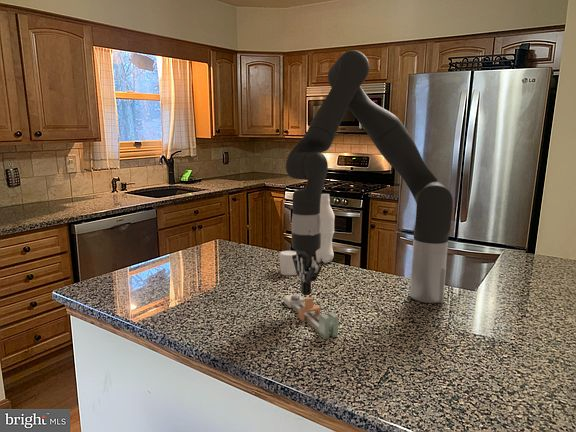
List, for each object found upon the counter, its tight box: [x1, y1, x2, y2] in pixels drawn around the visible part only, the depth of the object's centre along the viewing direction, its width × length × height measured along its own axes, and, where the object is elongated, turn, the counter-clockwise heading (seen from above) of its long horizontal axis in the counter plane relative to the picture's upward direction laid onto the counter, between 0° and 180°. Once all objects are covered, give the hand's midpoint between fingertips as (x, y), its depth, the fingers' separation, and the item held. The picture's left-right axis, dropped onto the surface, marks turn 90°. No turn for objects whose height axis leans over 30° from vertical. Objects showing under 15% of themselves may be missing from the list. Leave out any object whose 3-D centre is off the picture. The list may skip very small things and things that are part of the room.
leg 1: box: [291, 303, 330, 340], centre depth 106 cm, size 19×1×5 cm, turn 23°
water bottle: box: [316, 193, 336, 264], centre depth 155 cm, size 7×7×25 cm
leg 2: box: [299, 302, 339, 338], centre depth 107 cm, size 19×1×5 cm, turn 22°
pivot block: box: [283, 293, 305, 309], centre depth 118 cm, size 4×4×2 cm
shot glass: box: [278, 250, 297, 276], centre depth 144 cm, size 7×7×7 cm
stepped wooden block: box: [298, 296, 321, 322], centre depth 109 cm, size 2×5×5 cm, turn 113°
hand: (305, 294), depth 112 cm, fingers closed
